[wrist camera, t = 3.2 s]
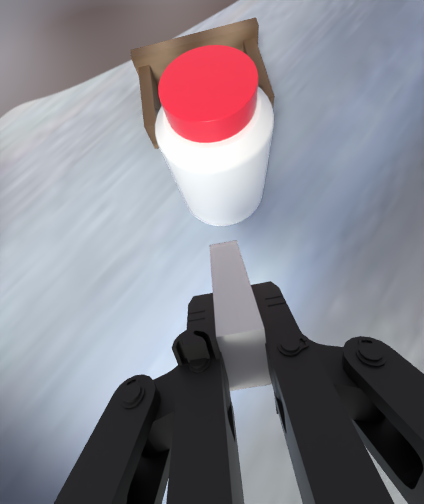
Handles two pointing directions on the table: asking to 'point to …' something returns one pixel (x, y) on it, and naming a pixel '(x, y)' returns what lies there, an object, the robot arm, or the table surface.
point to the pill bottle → (215, 132)
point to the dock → (162, 54)
